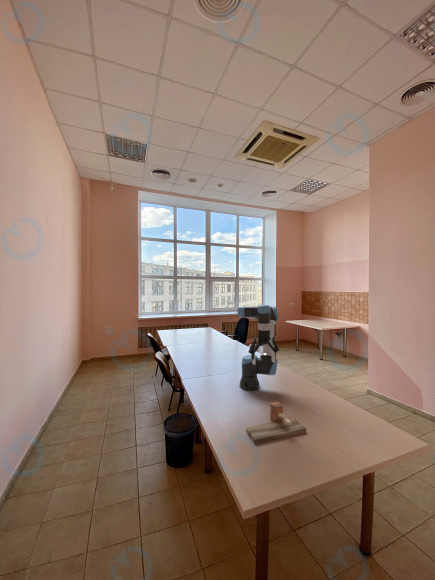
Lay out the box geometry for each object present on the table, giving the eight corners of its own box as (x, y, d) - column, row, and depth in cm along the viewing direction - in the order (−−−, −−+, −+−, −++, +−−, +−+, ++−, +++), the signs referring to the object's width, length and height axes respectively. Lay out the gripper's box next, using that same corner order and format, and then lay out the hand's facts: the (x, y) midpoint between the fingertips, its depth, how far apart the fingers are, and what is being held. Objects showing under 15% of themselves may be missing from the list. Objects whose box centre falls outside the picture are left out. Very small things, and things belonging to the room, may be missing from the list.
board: (246, 431, 124) (246, 427, 124) (294, 421, 132) (294, 417, 132) (254, 443, 114) (254, 439, 114) (306, 432, 123) (306, 428, 123)
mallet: (270, 420, 134) (270, 402, 134) (278, 418, 135) (278, 401, 135) (285, 436, 120) (285, 417, 119) (293, 434, 121) (293, 415, 121)
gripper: (248, 332, 138) (248, 367, 139) (284, 329, 145) (284, 362, 146) (243, 329, 145) (243, 363, 146) (278, 327, 153) (277, 359, 153)
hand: (263, 363), depth 146 cm, fingers open, 13 cm apart
